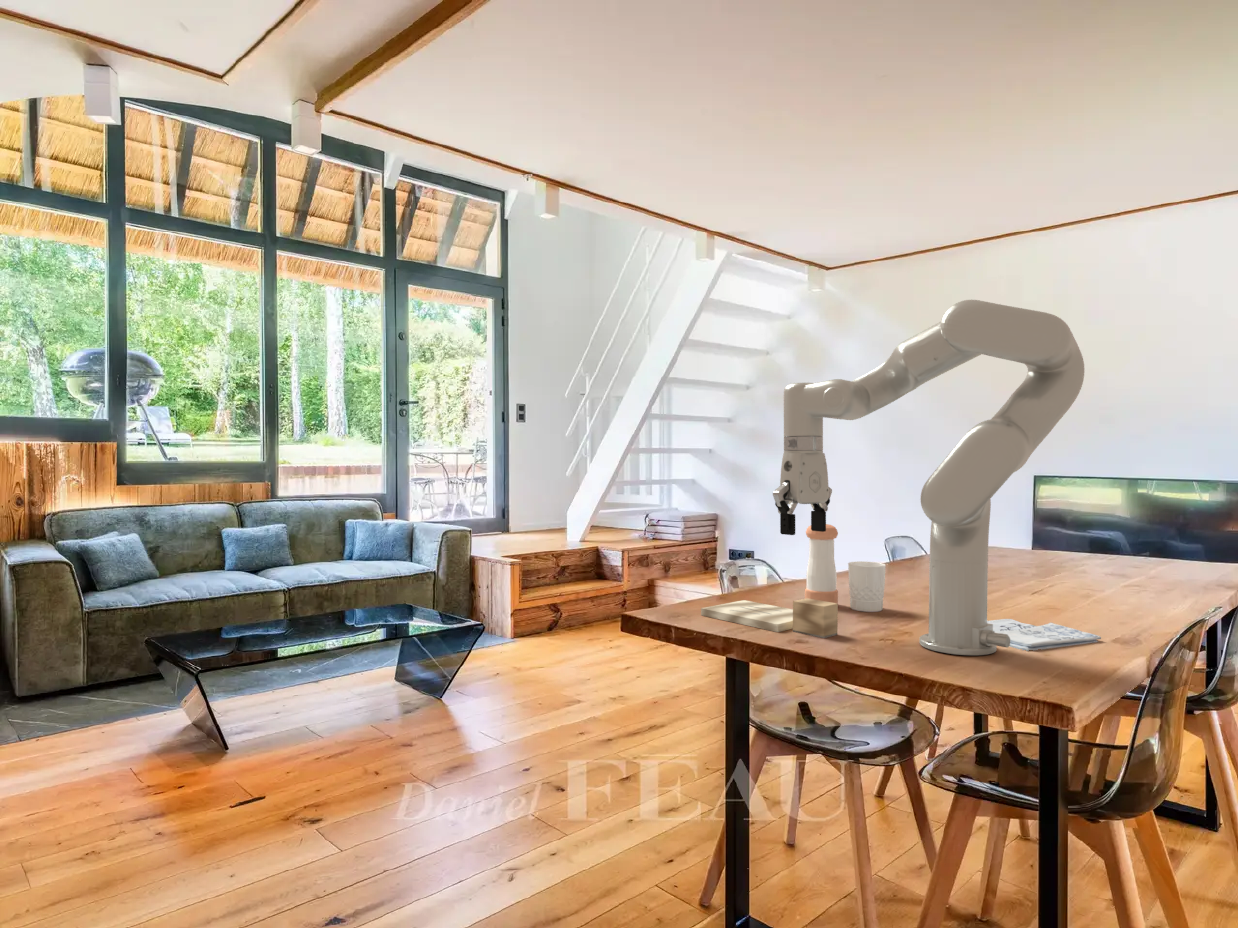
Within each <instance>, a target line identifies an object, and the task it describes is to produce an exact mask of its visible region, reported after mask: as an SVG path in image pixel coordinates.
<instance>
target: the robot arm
mask: <svg viewBox="0 0 1238 928" xmlns="http://www.w3.org/2000/svg"><path fill="white" fill-rule="evenodd" d="M981 355H983V356H989V357H993V358H998V359H1002V360H1006V361H1011V362H1016V363H1021V364H1024V365H1025V366H1026V368H1027V372H1026V373H1027V374H1026V376H1025V378H1024V379H1023V381H1022V383H1021V384H1019V386H1018V387H1017V388H1016V389H1015V391H1013V393H1011V395H1010V396H1009V397H1008V399H1007V400H1006V402H1005V403H1004V404H1003V405H1002V407H1001V408H1000V409H999V410H998V411H997V412H996V413H995V414H994V416H992V417H991V418H990V419H987V420H984V421H980V422H978V423H977V424H975V425H974V426H973V427H971V428H970V429H969V430H968V431H967V432H966V433H965V435H963V436H962V438H961V439H960V440H959V441H958V442H957V444H956V445H955V446H954V447H953V449H952V450H951V451H949V453H948V454H947V456H946V457H945V458H944V459H943V460H942V462H941V463H940V464H939V465H938V467H936V468H935V470H934V471H933V472H932V473H931V475H930V476H929V477H928V479H927V480H926V481H925V482H924V484H923V487H922V489H921V493H920V506H921V509H922V511H923V513H924V514H925V516H926V517H927V518H928V519H929V520H930V521H931V524H930V534H929V535H930V538H929V564H928V565H929V566H928V567H929V572H928V573H929V574H928V575H929V576H928V578H929V580H928V582H929V583H928V584H929V585H928V586H929V587H928V588H929V589H928V633H925V634H922V635H920V636H919V638H918V639H919V644H920V645H921V646H922V647H923V648H925V649H928V650H931V651H935V652H939V653H944V654H949V655H950V654H951V655H958V656H959V655H960V656H987V655H991V654H994V653H996V652H997V649H998V648H997V647H1002V648H1007V649H1008V648H1009V647H1010V637H1009V636H1008V635H1007V634H1002V633H995V632H994V631H993V624H988V623H987V621H988V587H989V586H988V585H989V584H988V581H989V580H988V574H989V573H988V572H989V537H990V536H989V535H990V534H989V533H990V522H991V521H990V518H991V505H992V504H991V503H992V502H991V498H992V497H993V496H995V494H996V493H997V492H998V491H999V489H1001V488H1002V486H1003V485H1004V484H1005V483H1006V482H1007V481H1008V479H1009V478H1010V477H1011V476H1012V475H1013V474H1014V473H1015V472H1017V471H1019V470H1020V469H1022V468H1023V467H1024V465H1025V464H1026V463H1027V461H1028V460H1029V458H1030V457H1031V456H1032V454H1033V452H1034V451H1036V449H1037V448H1038V447H1039V445H1040V444H1041V443H1042V442H1043V441H1044V439H1046V437H1047V436H1048V435H1049V434H1050V433H1051V431H1052V430H1053V429H1054V427H1055V426H1056V425H1057V424H1058V423H1059V421H1060V420H1061V419H1062V418H1063V417H1064V416H1065V415H1066V413H1067V412H1068V411H1069V410H1070V408H1071V407H1072V405H1074V402H1075V401H1076V399H1077V398H1078V396H1079V394H1080V391H1081V390H1082V387H1083V385H1084V378H1085V362H1084V358H1083V357H1084V356H1083V354H1082V350H1081V349H1080V347H1079V345H1078V343H1077V340H1076V338H1075V336H1074V334H1073V332H1072V331H1071V328H1070V326H1069V325H1068V323H1066V321H1064V320H1063V319H1062V318H1061V317H1059V316H1056V315H1055V314H1052V313H1049V312H1045V311H1039V310H1034V309H1027V308H1022V307H1016V306H1010V305H1004V304H1001V303H1000V304H999V303H996V302H995V303H994V302H988V301H984V300H978V299H965V300H961V301H958V302H956V303H955V304H953V305H951V306H950V307H949V308H948V309H947V310H946V311H945V313H943V316H942V318H941V321H939V322H938V323H935V324H934V325H932V326H930V327H927V329H924V330H922V331H920V332H919V333H917V334H915V335H913V336H911V337H909V338H907V339H906V340H904V341H902V342H900V343H899V344H898V345H897V346H895V348H894V349H893V351H892V353H891V354H890V356H889V357H888V358H887V359H886V360H885V361H884V362H883V363H881V364H880V365H879V366H878V367H876V368H875V369H873V370H871V371H869V372H868V373H865V374H863V375H862V376H860V377H857V378H856V379H853V380H847V379H846V380H845V379H841V378H840V379H839V378H837V379H829V380H825V381H824V380H823V381H819V382H818V381H817V382H796V383H795V382H794V383H789V384H787V385H786V386H785V387H784V390H783V455H782V459H781V460H782V461H781V467H780V479H779V481H780V482H779V486H778V487H777V488H776V489H775V490H773V492H772V496H773V500H774V503H775V504H774V505H775V507H776V508H777V512H778V514H779V517H780V519H779V520H780V521H779V523H780V524H779V525H780V526H779V527H780V530H779V531H780V535H786V536H787V535H788V536H794V535H796V514H795V513H794V512H795V510H796V507H797V506H798V504H799V505H810V506H811V509H813V510H811V512H810V526H811V530H812V531H820V532H825V531H826V524H827V512H828V511H829V505H830V502H831V495H832V493H833V489H832V488H831V487H830V486H829V476H828V475H829V474H828V464H827V459H826V454H825V452H824V418H826V419H835V420H845V421H854V420H859V419H861V418H863V417H865V416H868V415H870V414H872V413H874V412H876V411H878V410H881V409H882V408H885V407H886V406H889V405H890V404H891V403H894V402H895V401H897V400H898V399H900V398H902V397H903V396H905V395H908V394H909V393H911V392H913V391H914V390H916V389H918V388H919V387H920V386H922V385H923V384H926V383H927V382H929V381H931V380H933V379H935V378H938V376H941V375H943V374H945V373H947V372H949V371H952V370H953V369H955V368H957V367H959V366H961V365H963V364H965V363H967V362H969V361H971V360H973V359H975V358H977V357H979V356H981Z"/></svg>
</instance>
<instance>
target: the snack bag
mask: <svg viewBox="0 0 1238 928" xmlns="http://www.w3.org/2000/svg"><path fill="white" fill-rule="evenodd" d="M987 623H988V624H993V631H994V632H995V633H1002V634H1007V635H1008V636H1009V637H1010V646H1009V647H1010V648H1014V649H1017V650H1020V649H1022V650H1021V651H1024V650H1026V652H1030V651H1029V650H1033V651H1039V650H1038V649H1041V650H1048V649H1054V648H1055V649H1057V648H1061V647H1070V646H1076V645H1077V646H1079V645H1085V644H1091V643H1098V642H1099V640H1101V639H1102V637H1101V635H1097V634H1093V633H1090V632H1087V631H1082V630H1079V629H1076V628H1072V627H1068V626H1064V625H1061V624H1057V623H1054V622H1048V623H1046V624H1045V623H1044V624H1042V625H1033V624H1031V623H1023V622H1020V621H1018V620H1015V619H1012V618H1001V619H994V620H993V619H992V620H987Z"/></svg>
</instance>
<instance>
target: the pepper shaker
mask: <svg viewBox="0 0 1238 928" xmlns="http://www.w3.org/2000/svg"><path fill="white" fill-rule="evenodd" d="M805 535H806V537H807V538H808V539H809V543H808V544H809V545H808V546H809V547H808V548H809V549H808V551H809V553H808V561H807V568H806V575H805V576H806V588H805V589H804V599H806V598H808V599H814V600H820V601H826V602H832V603H837V604H838V605H839V591H838V589H837V579H838V577H837V575H838V574H837V567H836V563H835V562H836V560H835V539H837V538H838V535H839V532H838V529H837V528H836V527H835V526H834V525H832V524H827V523H826V531H825V532H820V531H812V530H811V525H808V527H807V528H806V530H805Z"/></svg>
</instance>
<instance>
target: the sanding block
mask: <svg viewBox="0 0 1238 928" xmlns="http://www.w3.org/2000/svg"><path fill="white" fill-rule="evenodd" d="M838 607H839V603H838V604H837V603H832V602H826V601H820V600H814V599H808V598H806V599H805V598H801V599H797V600H792V609H793V629H792V632H793V633H797V634H803V635H807V636H811V637H812V636H813V637H817V638H821V639H826V638H830V637H833V636H837V635H838V625H839V624H838V620H839V619H838V613H839V610H838V609H839V608H838Z"/></svg>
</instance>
